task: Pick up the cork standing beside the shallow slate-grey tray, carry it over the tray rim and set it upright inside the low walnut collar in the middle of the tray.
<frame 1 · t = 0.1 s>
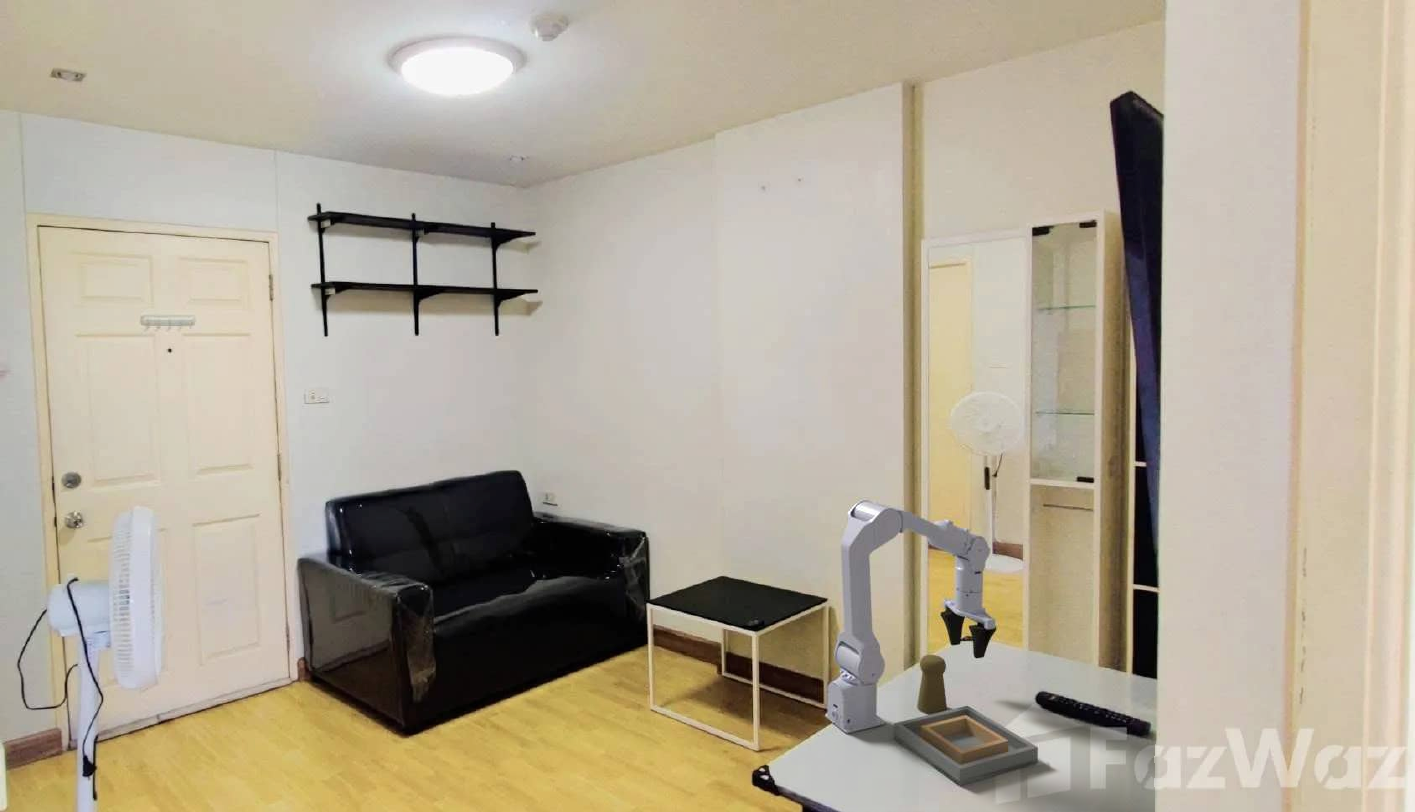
hand: (967, 650, 167), 10 cm above the table, fingers open, 7 cm apart
tray: (963, 750, 145), on the table
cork: (932, 709, 162), on the table
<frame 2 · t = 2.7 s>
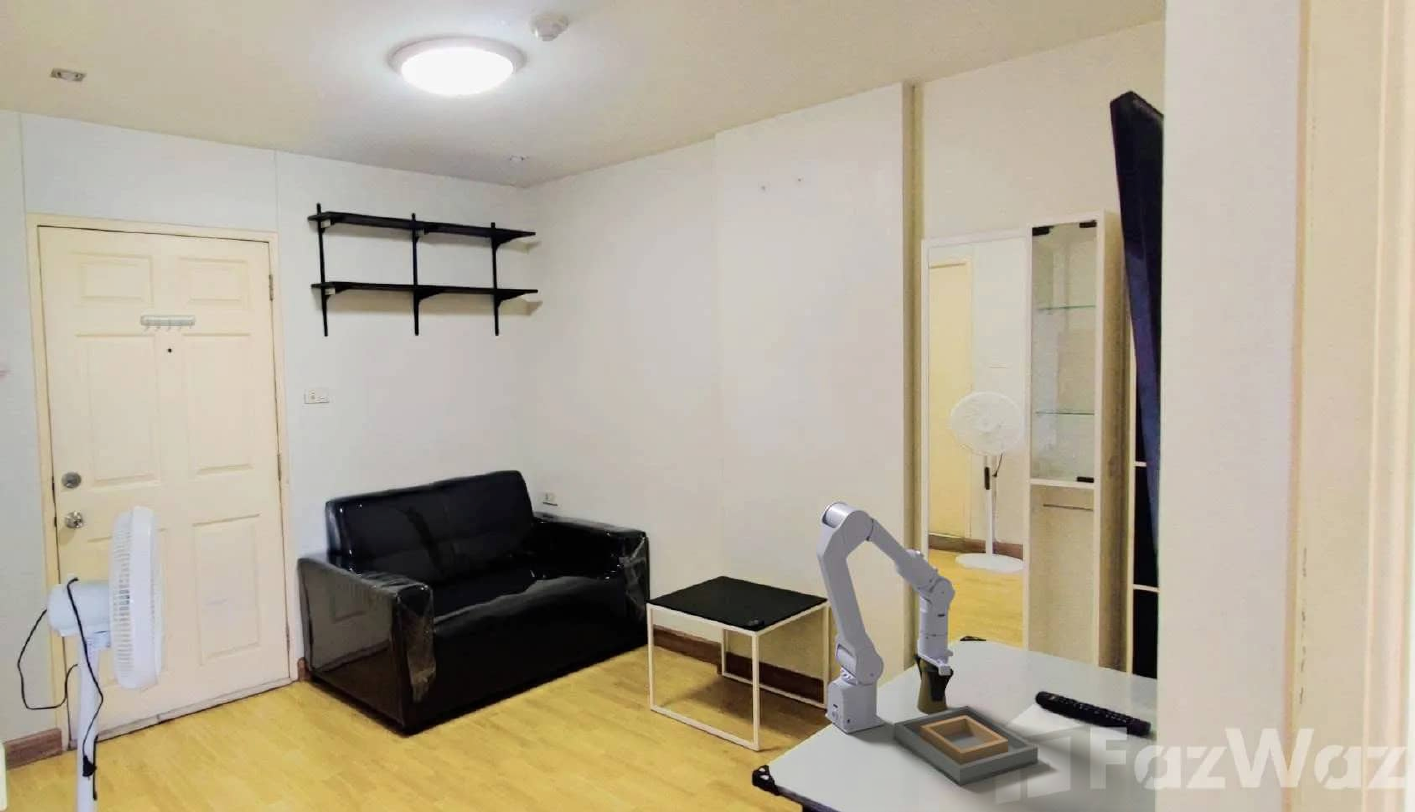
hand: (932, 694, 162), 3 cm above the table, fingers closed on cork, 5 cm apart
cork: (932, 709, 162), on the table, touching gripper
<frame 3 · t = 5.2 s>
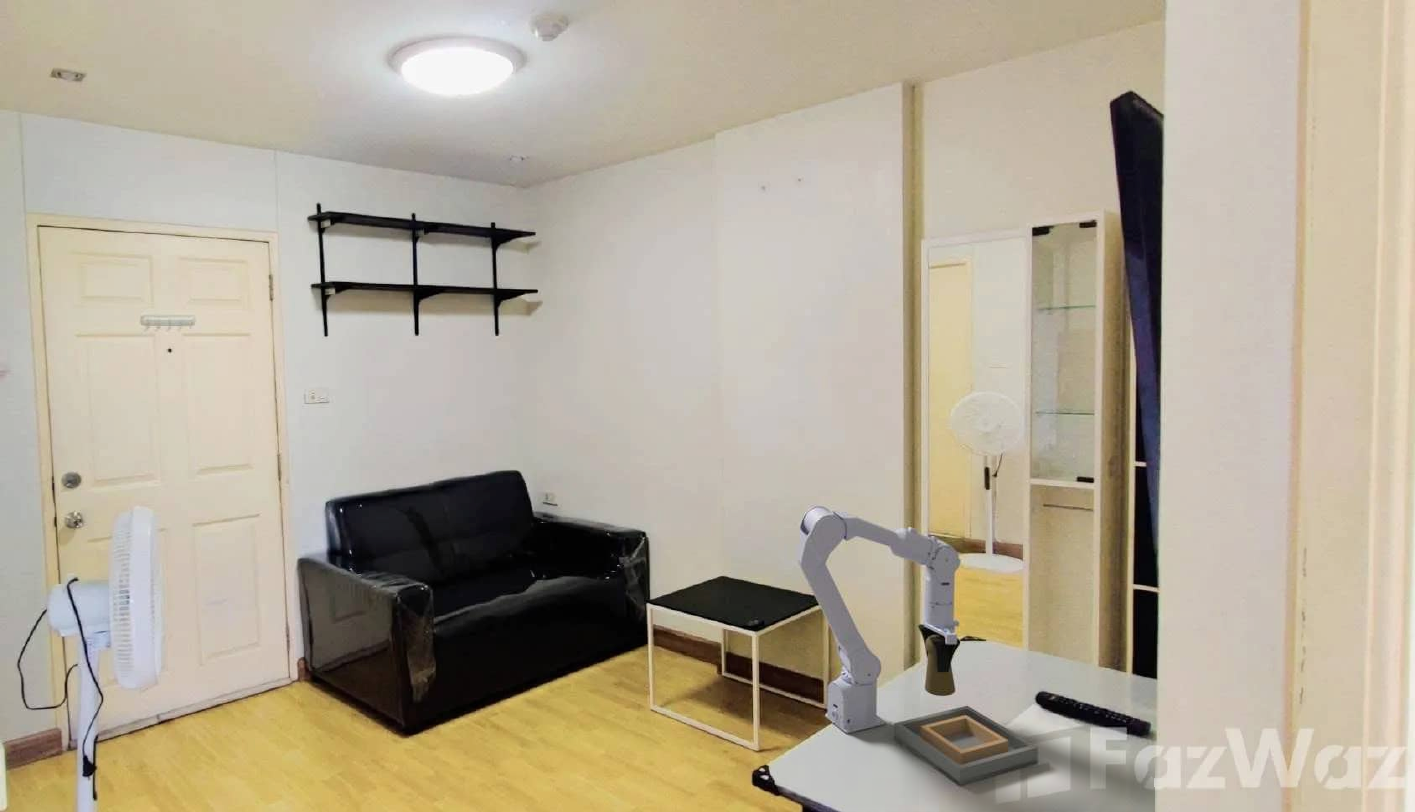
hand: (938, 665, 159), 10 cm above the table, fingers closed on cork, 5 cm apart
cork: (940, 689, 159), point 5 cm above the table, touching gripper
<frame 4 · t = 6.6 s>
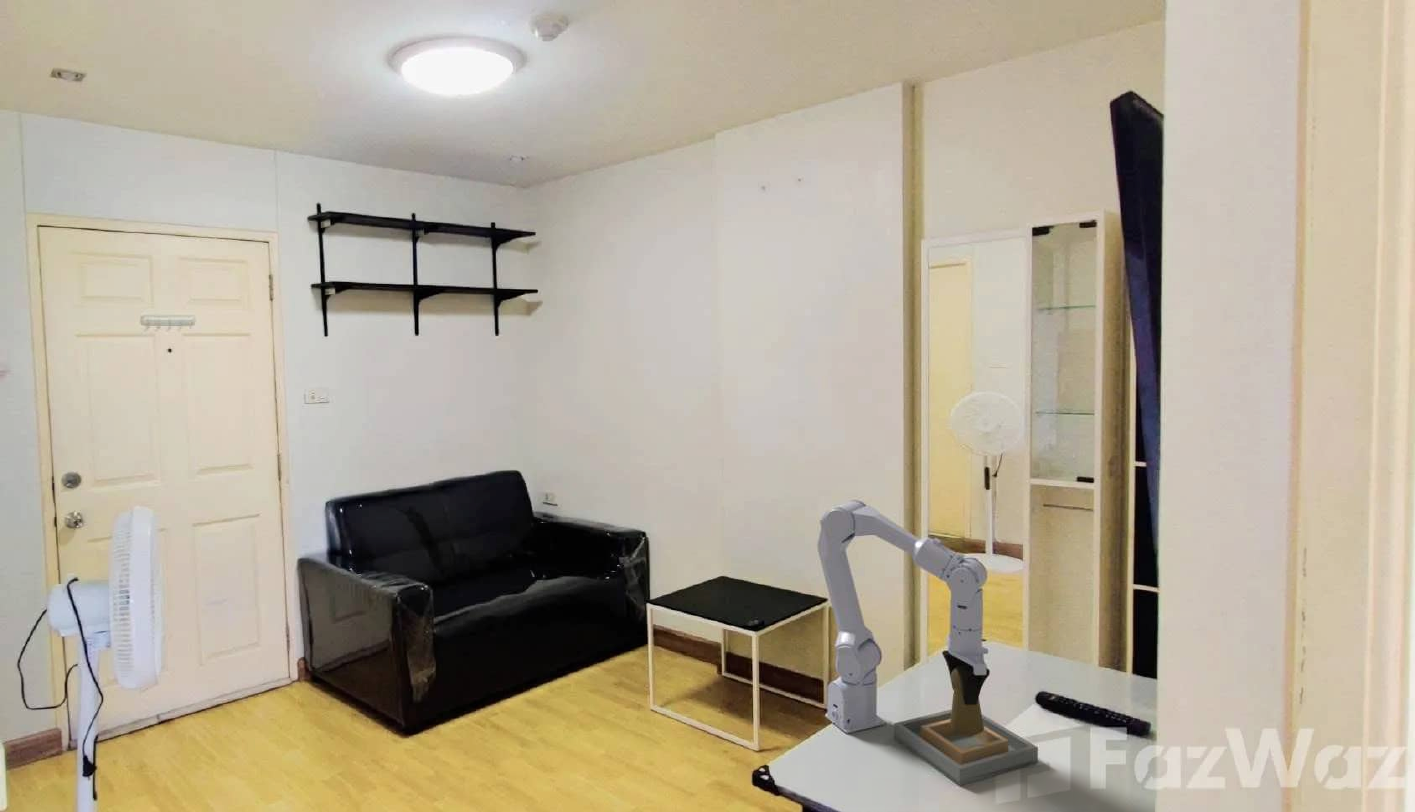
hand: (964, 697, 145), 10 cm above the table, fingers closed on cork, 5 cm apart
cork: (966, 727, 145), point 4 cm above the table, touching gripper
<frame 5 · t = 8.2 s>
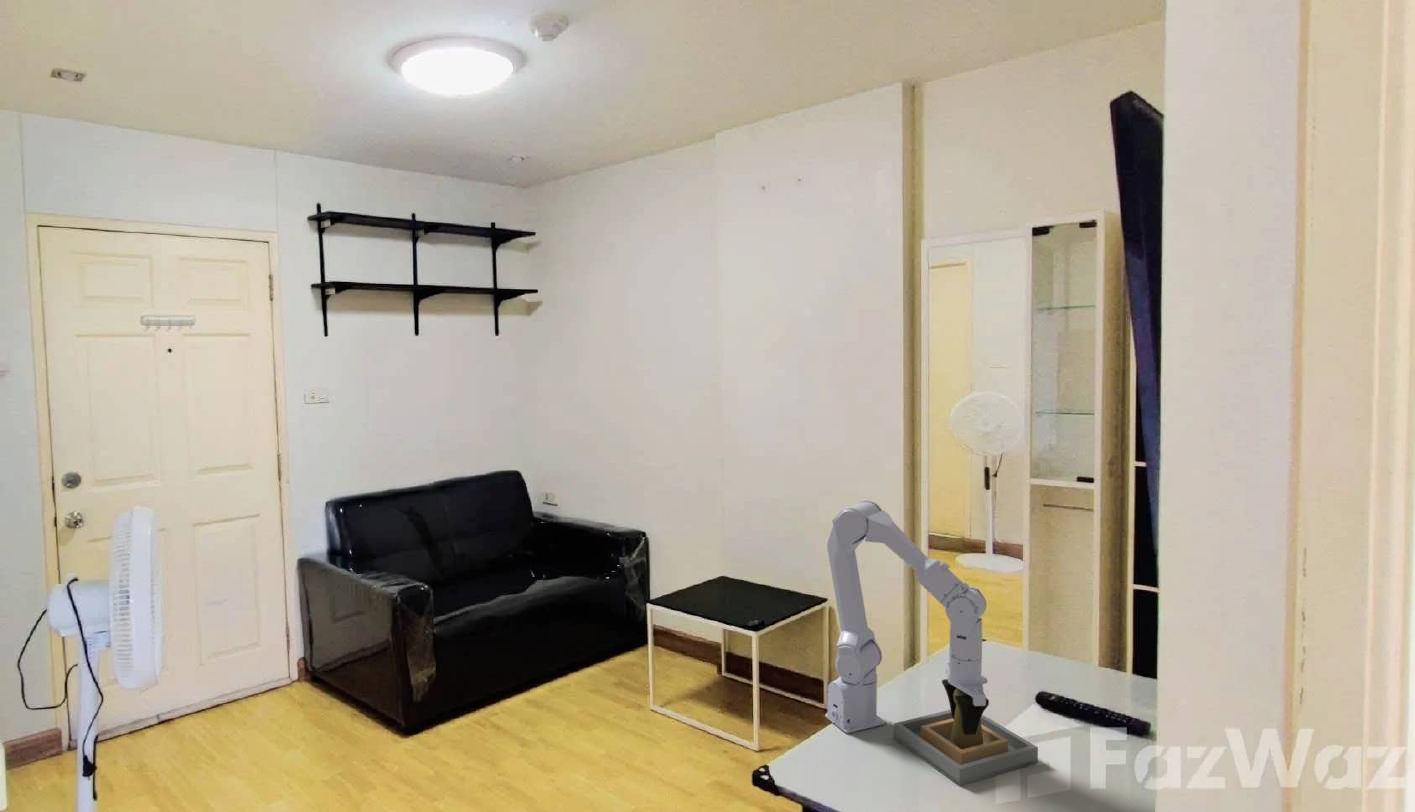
hand: (964, 726, 145), 5 cm above the table, fingers closed on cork, 5 cm apart
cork: (966, 746, 145), point 1 cm above the table, touching gripper, tray
when the fingers open (4 cm above the table, at t = 8.9 s): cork stays where it is, resting on tray.
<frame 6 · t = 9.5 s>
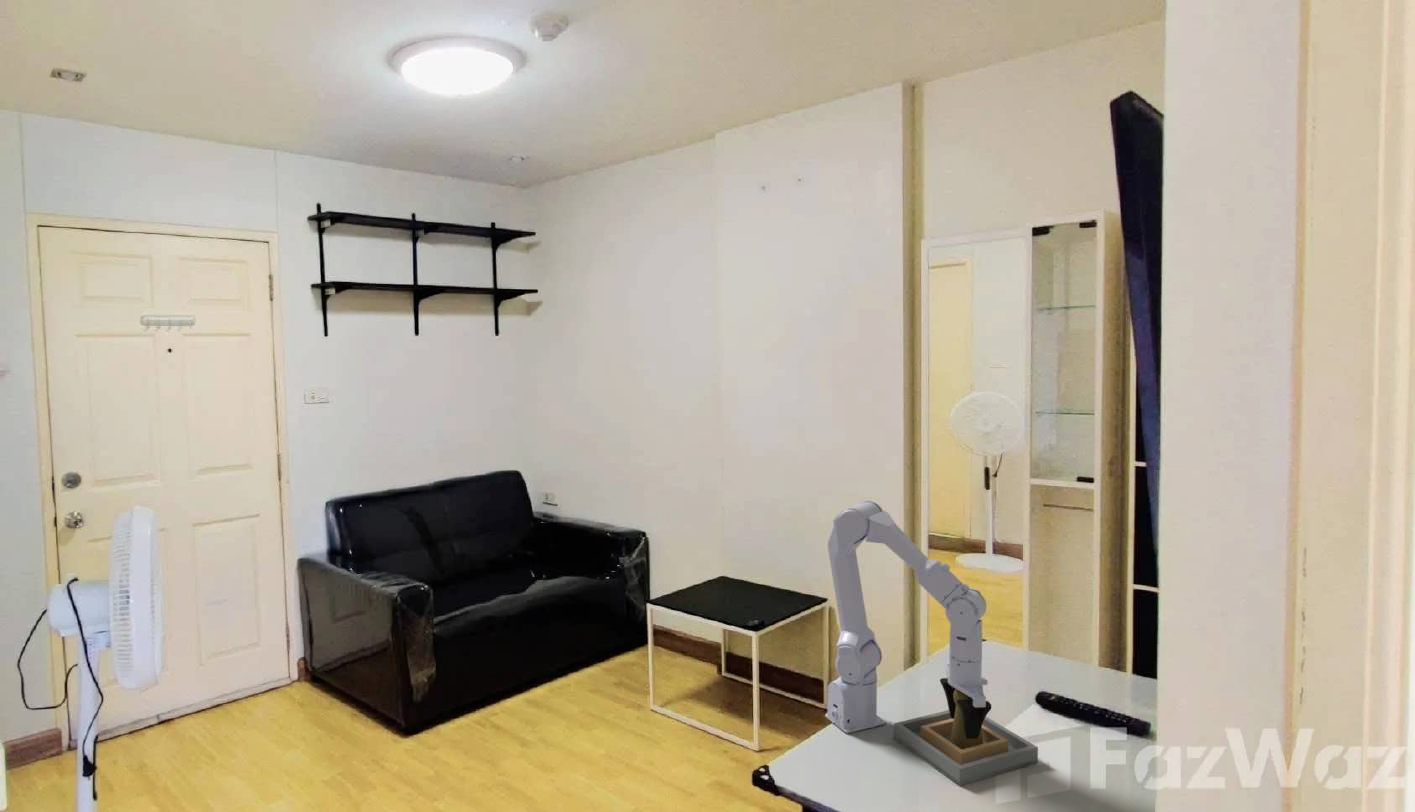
hand: (963, 727, 145), 4 cm above the table, fingers open, 7 cm apart
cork: (966, 746, 145), point 1 cm above the table, touching tray
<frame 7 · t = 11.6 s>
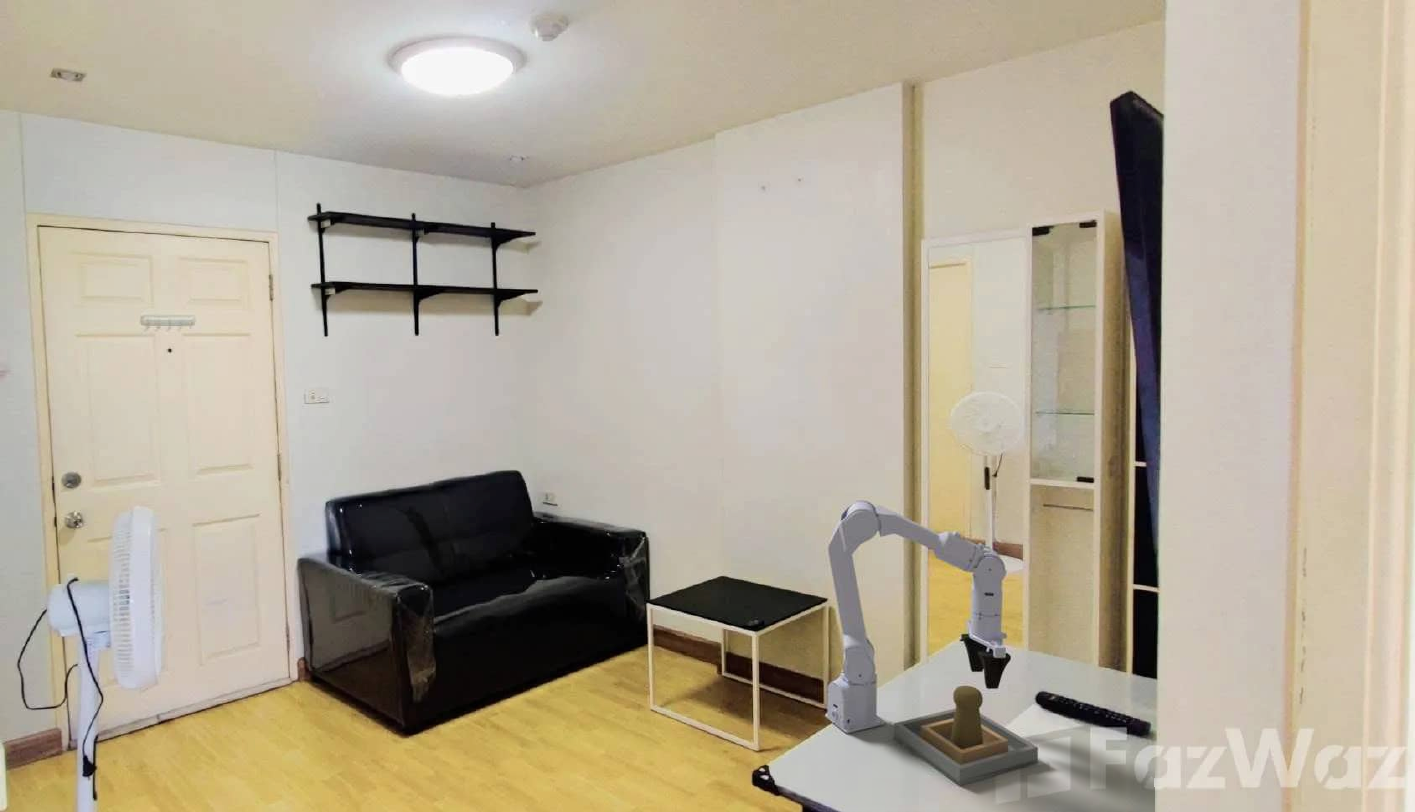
hand: (984, 679, 152), 10 cm above the table, fingers open, 7 cm apart
nothing on the table moved.
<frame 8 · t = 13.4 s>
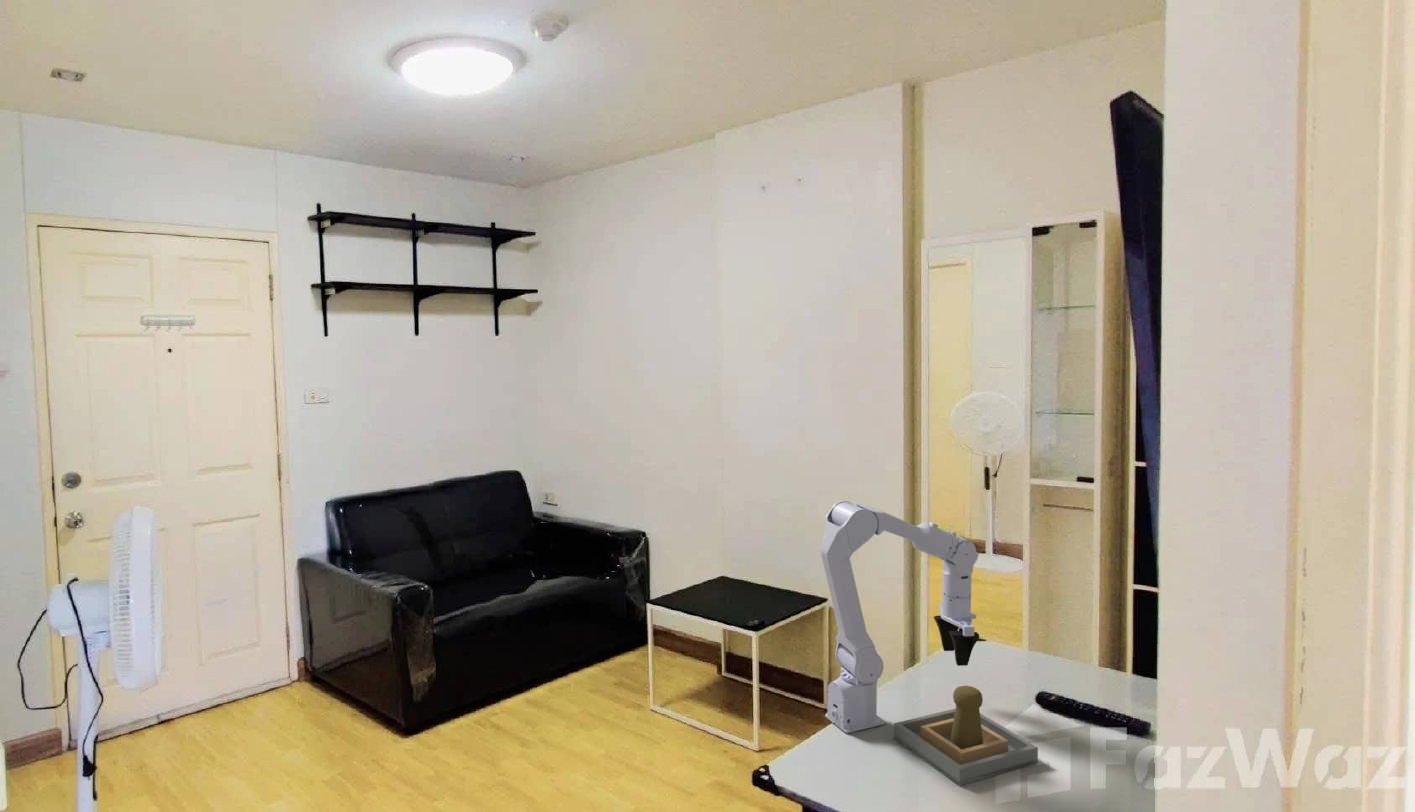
hand: (955, 657, 163), 10 cm above the table, fingers open, 7 cm apart
nothing on the table moved.
at the end: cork 0.7 cm off-centre on the tray, point 0.6 cm above the tray's base; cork tilted 0°; the gripper is holding nothing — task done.
